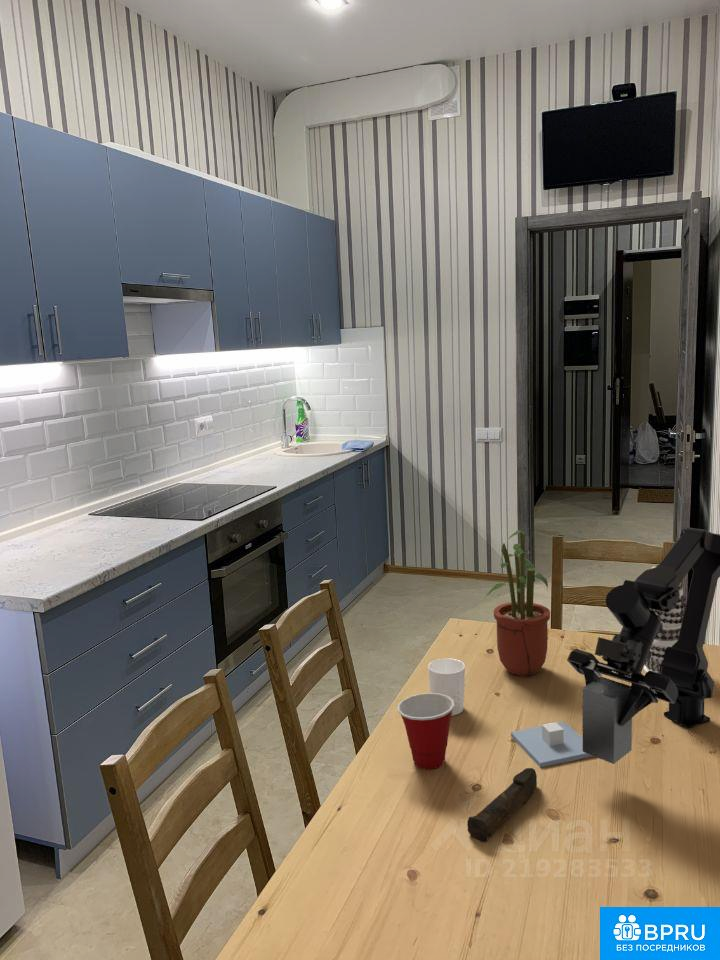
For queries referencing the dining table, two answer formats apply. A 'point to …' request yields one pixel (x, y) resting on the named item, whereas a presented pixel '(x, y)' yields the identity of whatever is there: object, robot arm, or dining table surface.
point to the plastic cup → (427, 727)
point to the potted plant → (521, 617)
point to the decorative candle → (666, 633)
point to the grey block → (606, 720)
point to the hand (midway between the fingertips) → (603, 719)
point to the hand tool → (503, 805)
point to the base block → (551, 743)
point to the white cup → (448, 680)
